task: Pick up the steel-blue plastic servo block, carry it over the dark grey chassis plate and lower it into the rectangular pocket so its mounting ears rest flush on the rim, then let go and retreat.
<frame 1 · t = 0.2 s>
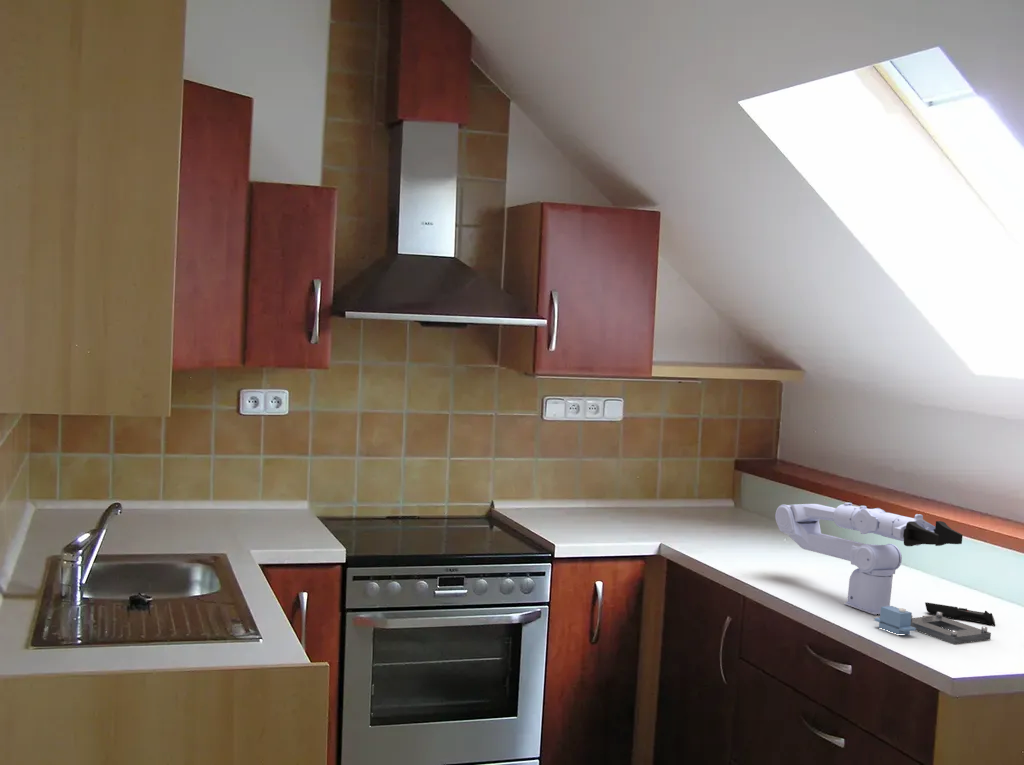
hand: (949, 539, 245), 21 cm above the worktop, tool horizontal, fingers open, 7 cm apart
electric trimmer: (960, 621, 262), on the worktop
servo: (894, 632, 246), on the worktop
chassis: (945, 632, 248), on the worktop
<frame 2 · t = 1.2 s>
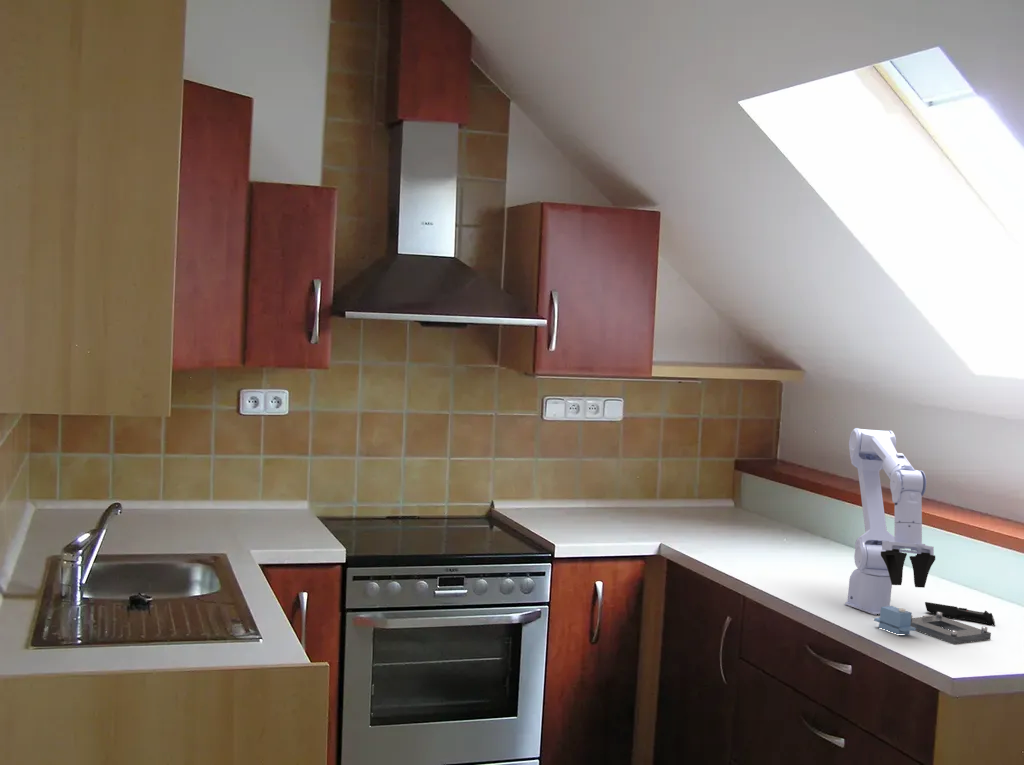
hand: (908, 586, 244), 11 cm above the worktop, tool pointing down, fingers open, 7 cm apart
nothing on the worktop moved.
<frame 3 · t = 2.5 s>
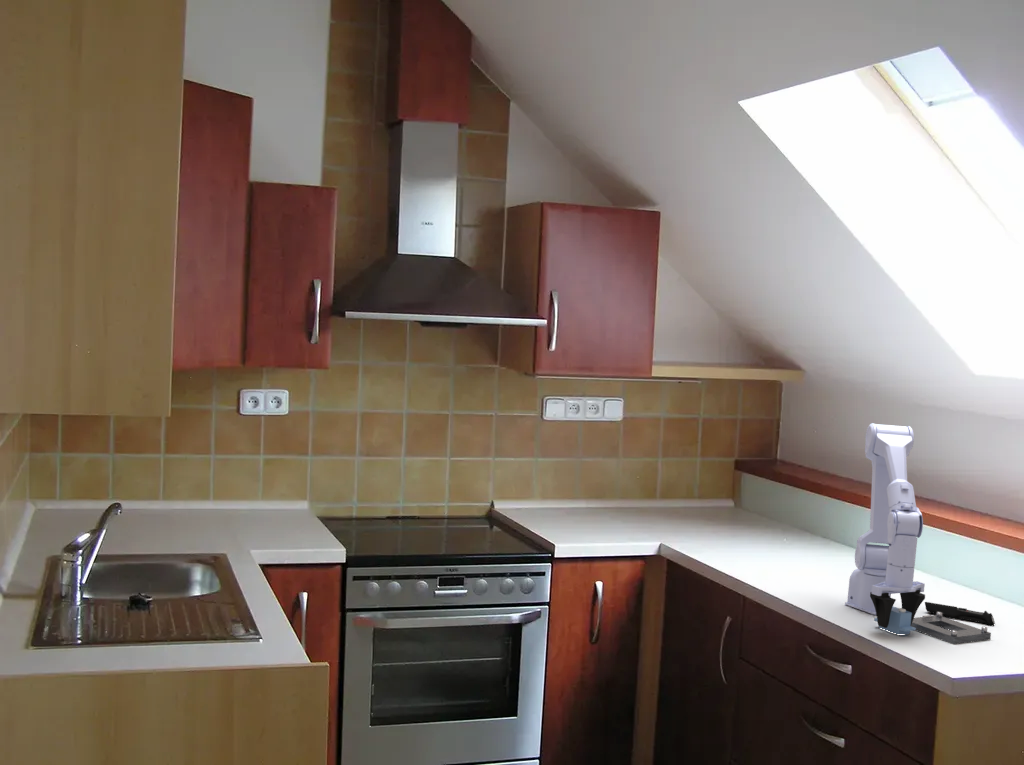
hand: (894, 625, 246), 1 cm above the worktop, tool pointing down, fingers open, 7 cm apart
nothing on the worktop moved.
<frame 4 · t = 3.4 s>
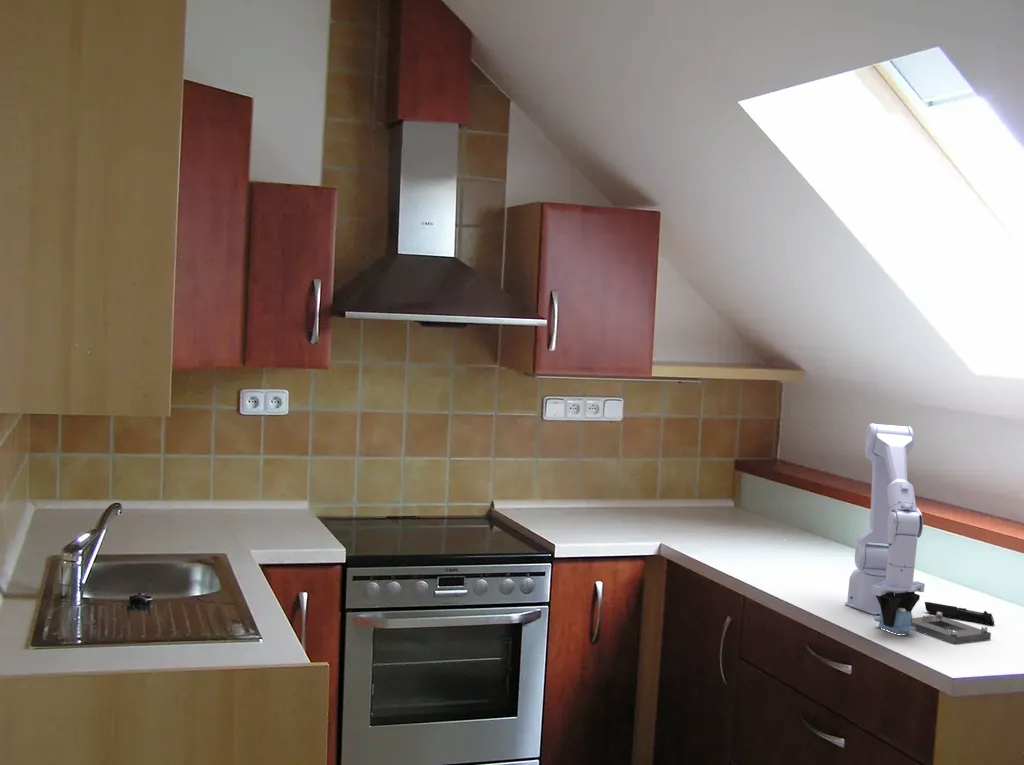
hand: (894, 625, 246), 1 cm above the worktop, tool pointing down, fingers closed on servo, 3 cm apart
servo: (894, 631, 246), on the worktop, touching gripper
everything else where it was.
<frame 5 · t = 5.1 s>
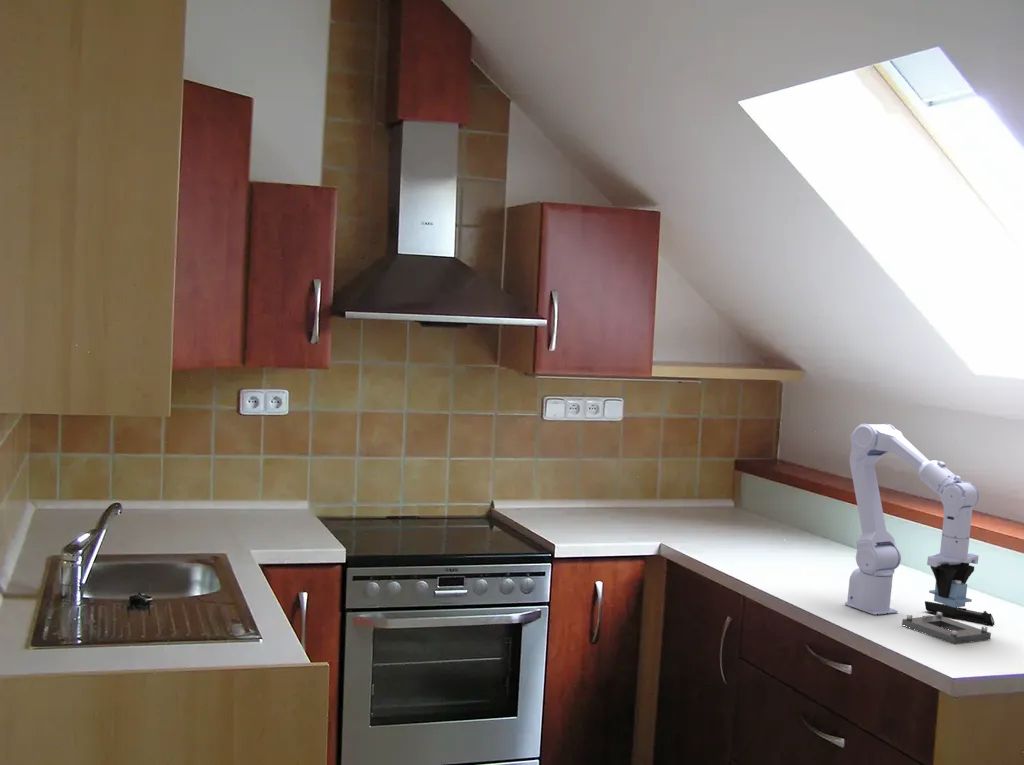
hand: (949, 596, 248), 8 cm above the worktop, tool pointing down, fingers closed on servo, 3 cm apart
servo: (949, 603, 248), point 7 cm above the worktop, touching gripper
everything else where it was.
when the fingers open (2 cm above the worktop, at t = 6.8 s): servo stays where it is, resting on chassis.
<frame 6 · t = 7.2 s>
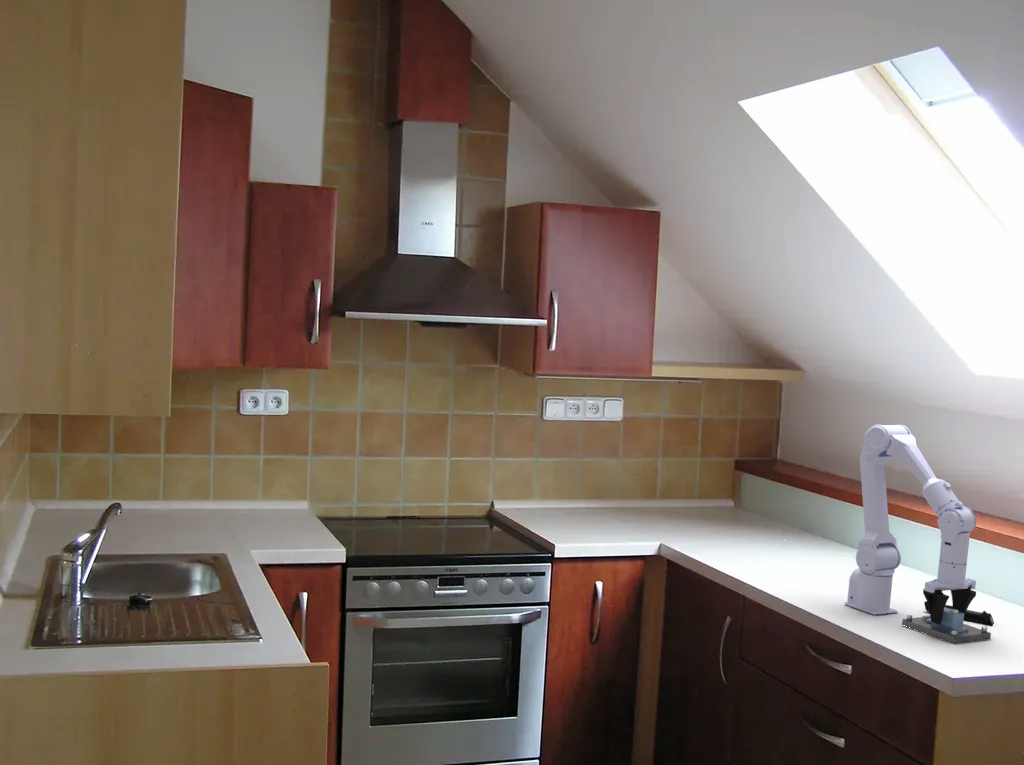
hand: (946, 621, 248), 2 cm above the worktop, tool pointing down, fingers open, 7 cm apart
servo: (946, 632, 248), resting on chassis
everything else where it was.
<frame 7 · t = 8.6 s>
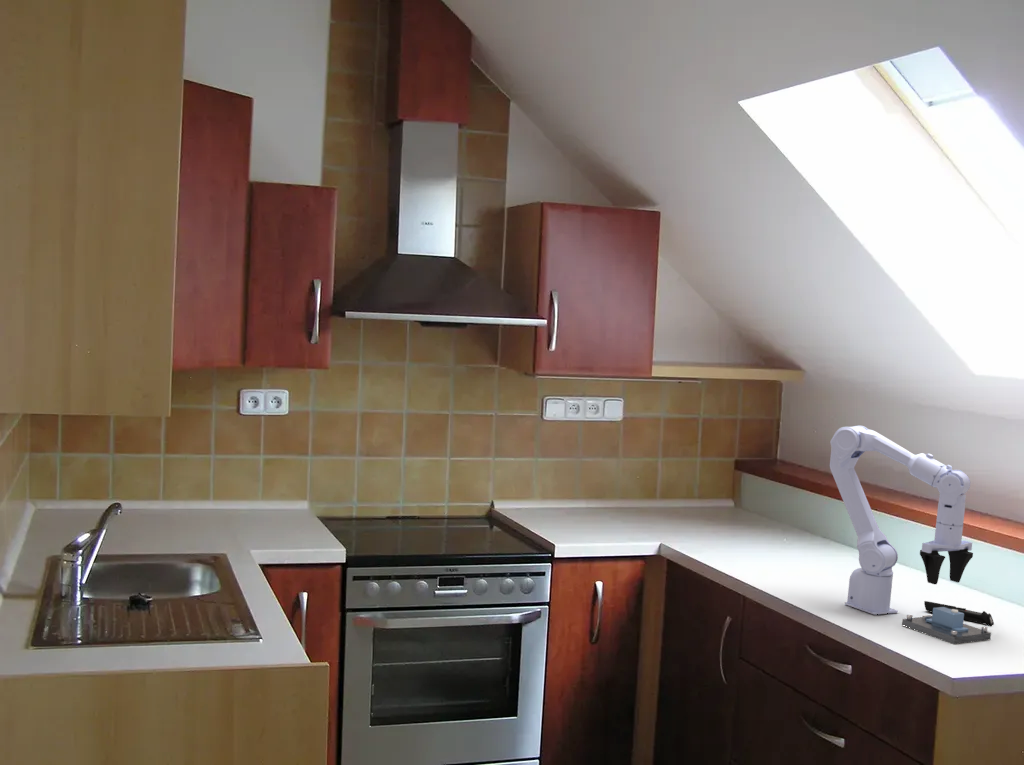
hand: (943, 582, 254), 10 cm above the worktop, tool pointing down, fingers open, 7 cm apart
nothing on the worktop moved.
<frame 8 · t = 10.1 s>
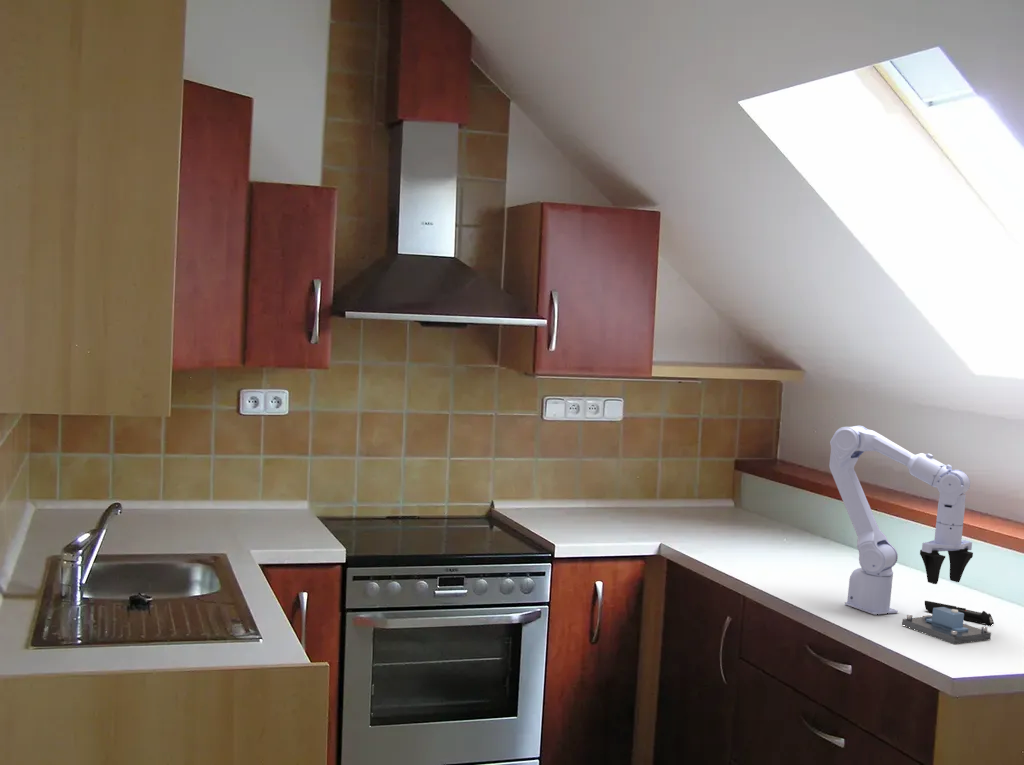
hand: (943, 582, 254), 10 cm above the worktop, tool pointing down, fingers open, 7 cm apart
at the end: servo 0.2 cm off-centre on the chassis, point 0.0 cm above the chassis's base; servo tilted 0°; the gripper is holding nothing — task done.
